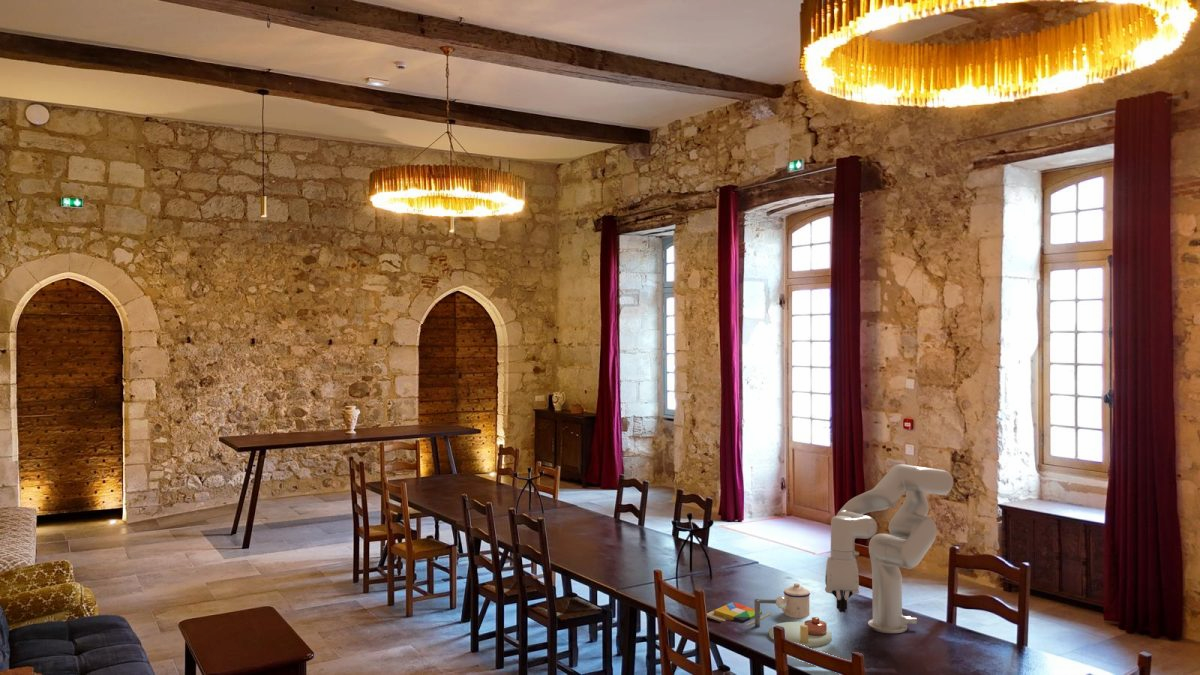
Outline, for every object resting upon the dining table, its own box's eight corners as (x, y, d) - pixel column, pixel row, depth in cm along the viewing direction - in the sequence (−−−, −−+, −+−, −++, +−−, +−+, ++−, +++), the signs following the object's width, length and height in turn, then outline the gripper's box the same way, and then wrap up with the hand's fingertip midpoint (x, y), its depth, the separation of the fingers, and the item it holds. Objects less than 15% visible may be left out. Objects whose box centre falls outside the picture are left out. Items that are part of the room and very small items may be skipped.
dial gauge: (785, 627, 294) (785, 594, 294) (787, 632, 289) (787, 598, 289) (749, 626, 295) (749, 593, 295) (750, 631, 290) (750, 598, 290)
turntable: (825, 626, 292) (825, 607, 292) (837, 648, 271) (836, 628, 271) (766, 625, 293) (765, 606, 293) (772, 647, 273) (772, 626, 273)
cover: (824, 628, 285) (824, 615, 285) (828, 636, 278) (828, 622, 278) (803, 628, 286) (803, 614, 286) (806, 636, 279) (806, 621, 279)
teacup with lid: (797, 610, 311) (796, 578, 311) (815, 617, 304) (815, 584, 304) (772, 616, 305) (772, 584, 305) (790, 624, 297) (790, 590, 297)
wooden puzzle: (747, 631, 292) (747, 621, 292) (700, 619, 305) (700, 609, 305) (773, 618, 305) (773, 608, 305) (727, 607, 318) (727, 598, 318)
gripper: (863, 552, 284) (862, 608, 284) (817, 551, 285) (816, 606, 285) (868, 558, 277) (867, 615, 276) (821, 556, 278) (820, 613, 278)
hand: (841, 611), depth 281 cm, fingers closed
